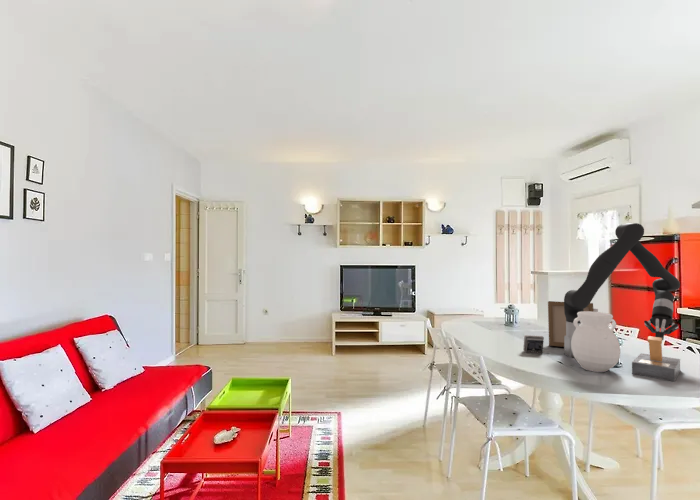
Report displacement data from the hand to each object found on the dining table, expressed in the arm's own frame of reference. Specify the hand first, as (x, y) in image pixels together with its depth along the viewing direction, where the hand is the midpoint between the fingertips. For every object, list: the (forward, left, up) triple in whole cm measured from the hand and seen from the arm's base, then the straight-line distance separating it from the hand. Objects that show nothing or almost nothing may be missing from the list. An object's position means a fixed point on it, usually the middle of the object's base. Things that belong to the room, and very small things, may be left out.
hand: (659, 340), depth 172 cm
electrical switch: (-46, +22, -13) cm, 53 cm away
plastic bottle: (-2, +50, -13) cm, 52 cm away
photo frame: (-20, +40, -13) cm, 47 cm away
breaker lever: (-5, -6, -8) cm, 11 cm away
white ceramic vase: (-30, -5, -13) cm, 33 cm away
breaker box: (-5, -6, -13) cm, 15 cm away
